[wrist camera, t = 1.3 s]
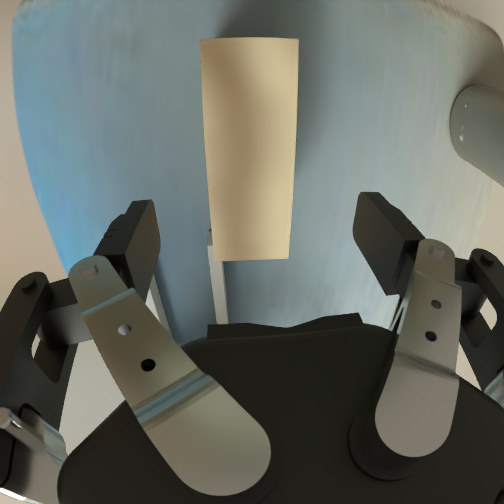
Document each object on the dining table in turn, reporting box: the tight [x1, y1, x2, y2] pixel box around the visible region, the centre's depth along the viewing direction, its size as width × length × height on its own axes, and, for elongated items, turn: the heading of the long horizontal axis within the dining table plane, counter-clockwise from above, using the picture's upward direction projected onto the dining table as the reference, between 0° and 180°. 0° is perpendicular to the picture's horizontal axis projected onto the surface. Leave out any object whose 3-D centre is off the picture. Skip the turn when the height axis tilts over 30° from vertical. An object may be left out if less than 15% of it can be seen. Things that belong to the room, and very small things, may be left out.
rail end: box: [200, 37, 299, 262], centre depth 20 cm, size 5×15×9 cm, turn 0°
